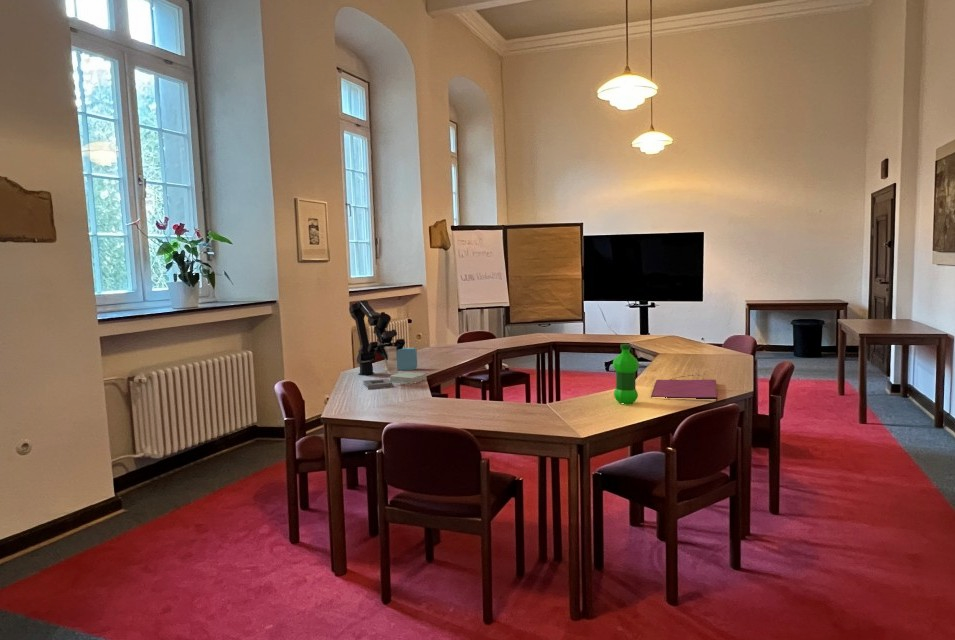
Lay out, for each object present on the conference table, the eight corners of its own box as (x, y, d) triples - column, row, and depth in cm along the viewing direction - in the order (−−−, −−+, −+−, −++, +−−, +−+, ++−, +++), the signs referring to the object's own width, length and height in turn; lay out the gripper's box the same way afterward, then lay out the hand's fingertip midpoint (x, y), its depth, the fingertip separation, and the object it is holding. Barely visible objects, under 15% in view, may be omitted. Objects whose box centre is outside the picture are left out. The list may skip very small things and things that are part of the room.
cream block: (385, 372, 332) (384, 346, 330) (393, 371, 334) (392, 345, 333) (389, 373, 328) (388, 347, 326) (397, 372, 330) (396, 346, 329)
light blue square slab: (417, 368, 372) (416, 347, 371) (416, 370, 368) (415, 348, 367) (396, 368, 373) (395, 347, 372) (395, 370, 368) (394, 349, 367)
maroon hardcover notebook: (717, 393, 277) (650, 392, 286) (717, 403, 277) (651, 401, 286) (716, 374, 314) (657, 373, 323) (716, 382, 315) (657, 381, 324)
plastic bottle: (614, 400, 285) (614, 342, 282) (639, 401, 281) (639, 343, 279) (611, 405, 276) (611, 346, 273) (637, 406, 272) (637, 346, 269)
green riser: (390, 381, 337) (389, 375, 337) (404, 377, 348) (404, 371, 347) (412, 384, 330) (412, 378, 330) (426, 379, 340) (426, 373, 340)
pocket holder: (363, 384, 332) (363, 380, 332) (387, 382, 336) (387, 378, 335) (367, 389, 320) (367, 385, 320) (392, 386, 324) (392, 382, 324)
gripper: (368, 326, 327) (378, 350, 319) (403, 322, 336) (413, 347, 328) (363, 340, 334) (372, 364, 326) (397, 336, 344) (407, 360, 336)
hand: (392, 358), depth 329 cm, fingers closed on cream block, 4 cm apart
